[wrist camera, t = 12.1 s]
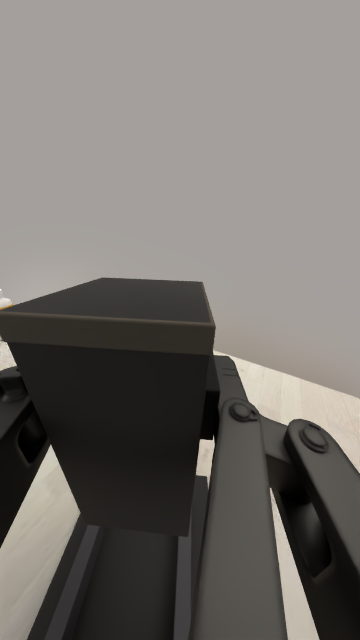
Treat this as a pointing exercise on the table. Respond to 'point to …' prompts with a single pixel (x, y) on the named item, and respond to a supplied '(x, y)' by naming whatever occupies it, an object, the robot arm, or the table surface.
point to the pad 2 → (124, 583)
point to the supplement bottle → (4, 302)
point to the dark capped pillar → (120, 393)
